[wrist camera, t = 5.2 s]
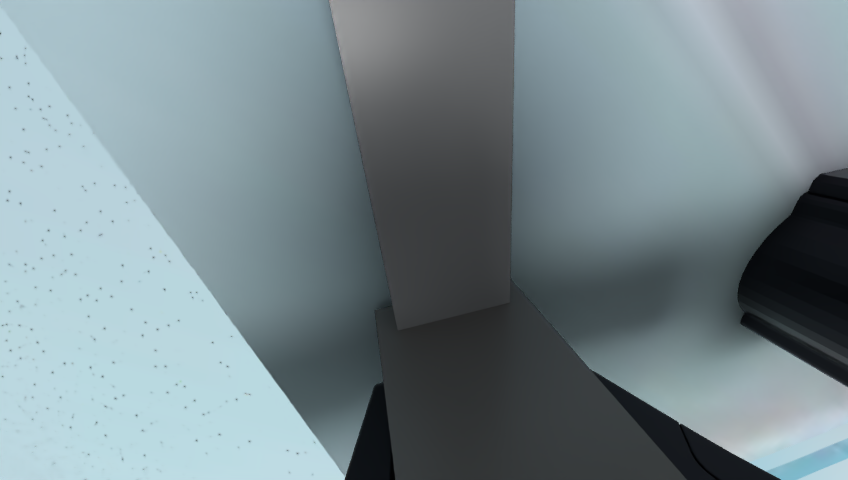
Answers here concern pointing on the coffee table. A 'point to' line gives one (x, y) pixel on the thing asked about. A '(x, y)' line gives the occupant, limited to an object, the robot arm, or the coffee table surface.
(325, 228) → the coffee table surface
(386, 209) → the grey angled bracket
